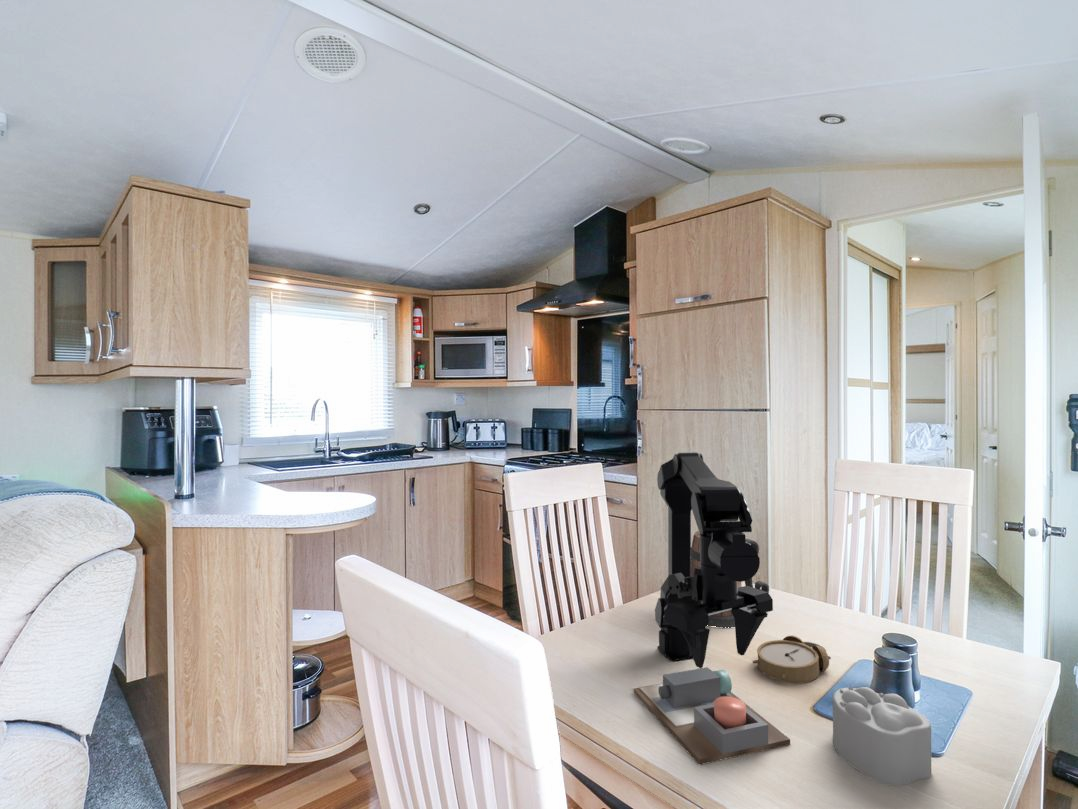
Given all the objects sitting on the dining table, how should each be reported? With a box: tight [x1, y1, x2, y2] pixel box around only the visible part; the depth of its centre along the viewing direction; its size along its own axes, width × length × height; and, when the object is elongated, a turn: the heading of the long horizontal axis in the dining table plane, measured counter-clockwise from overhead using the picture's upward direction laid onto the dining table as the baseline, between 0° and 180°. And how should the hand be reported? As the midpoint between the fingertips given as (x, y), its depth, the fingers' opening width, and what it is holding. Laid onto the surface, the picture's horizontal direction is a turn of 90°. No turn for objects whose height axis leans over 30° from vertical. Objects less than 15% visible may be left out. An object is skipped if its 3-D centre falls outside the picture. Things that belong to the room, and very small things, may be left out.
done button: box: [714, 697, 746, 729], centre depth 93 cm, size 5×5×3 cm
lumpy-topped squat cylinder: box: [832, 686, 932, 787], centre depth 88 cm, size 10×13×9 cm
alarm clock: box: [752, 635, 832, 684], centre depth 117 cm, size 11×5×15 cm
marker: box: [658, 667, 733, 709], centre depth 104 cm, size 13×4×4 cm, turn 107°
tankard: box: [691, 530, 770, 629], centre depth 146 cm, size 24×17×20 cm
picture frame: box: [633, 682, 791, 765], centre depth 100 cm, size 16×22×1 cm
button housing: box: [694, 703, 768, 754], centre depth 93 cm, size 8×8×3 cm
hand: (720, 660), depth 95 cm, fingers open, 9 cm apart
